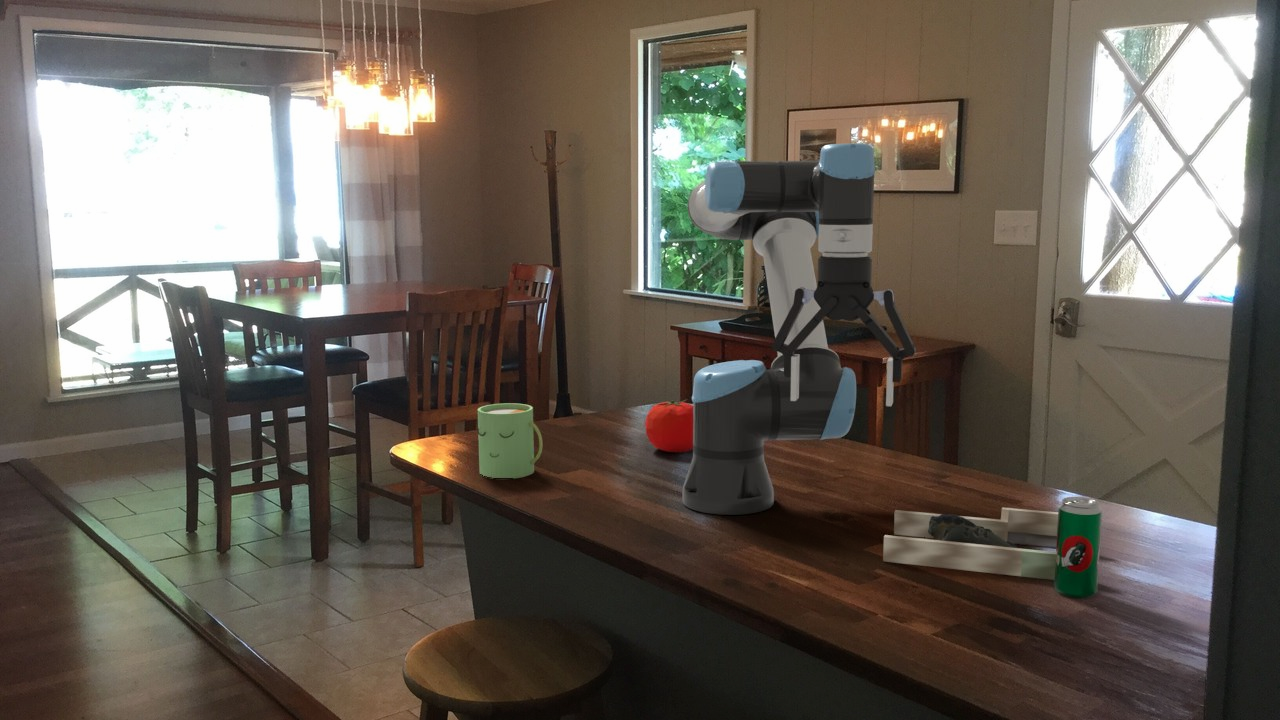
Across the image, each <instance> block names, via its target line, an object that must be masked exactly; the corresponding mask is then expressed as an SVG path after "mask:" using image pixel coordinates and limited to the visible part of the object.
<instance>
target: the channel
mask: <svg viewBox="0 0 1280 720" xmlns="http://www.w3.org/2000/svg"><path fill="white" fill-rule="evenodd" d="M942 514H943V513H933V512H922V511H921V512H920V511H910V510H900V509H895V510H894V518H893V519H894V520H893V521H894V522H893V523H894V524H893V535H888V534H885V535H884V536H883V548H882V549H883V550H882V551H883V556H882V561H883V562H885V563H886V562H887V563H896V564H903V565H914V566H921V567H930V568H931V567H933V568H940V569H951V570H959V571H970V572H979V573H988V574H995V575H996V574H997V575H1007V576H1013V577H1014V576H1016V577H1025V578H1033V579H1041V580H1042V579H1043V580H1051V581H1054V579H1055V561H1056V551H1051V550H1040V549H1039V550H1038V549H1028V548H1020V547H1019V548H1018V547H1017V548H1010V547H1000V546H990V545H980V544H970V543H960V542H950V541H940V540H936V538H935V539H934V537H933V536H931V535H930V533H928V529H929V521H930V518H931V517H932V516H934V517H938V516H940V515H942ZM1000 514H1001V515H1000V519H997V518H987V517H978V516H977V517H974V516H964V515H959V516H960V517H964V518H965V519H967V520H969V521H971V522H972V523H974V524H975V525H977V526H981V527H984V528H985V529H990V530H991V531H992V532H993V533H994V534H995V535H996V536H998V537H1000V538H1001V539H1003V540H1005V541H1009V542H1011V543H1013V544H1014V545H1018V544H1019V545H1021V546H1027V547H1029V546H1031V547H1037V548H1048V549H1056V542H1057V524H1058V511H1056V512H1055V511H1045V510H1035V509H1024V508H1013V507H1001V513H1000ZM924 537H925V538H924Z"/></svg>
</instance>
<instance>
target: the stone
mask: <svg viewBox="0 0 1280 720" xmlns="http://www.w3.org/2000/svg"><path fill="white" fill-rule="evenodd" d="M941 514H942V515H940V516H938V517H934V516H932V517H931V518H930V521H929V529H928V533H930V535H931V536H933V537H934V538H936V539H935V540H940V541H950V542H960V543H970V544H980V545H990V546H1000V547H1010V548H1018V546H1017V545H1016V544H1013V543H1011V542H1009V541H1005V540H1003V539H1001V538H1000V537H998V536H996V535H995V534H994V533H993V532H992V531H991V530H990V529H985V528H984V527H981V526H977V525H975V524H974V523H972V522H971V521H969V520H967V519H965V518H964V517H960V516H961V515H957V514H951V513H941ZM934 538H933V539H934Z"/></svg>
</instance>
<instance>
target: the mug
mask: <svg viewBox="0 0 1280 720" xmlns="http://www.w3.org/2000/svg"><path fill="white" fill-rule="evenodd" d="M477 426H478V427H477V434H478V436H477V437H478V464H479V465H478V467H479V475H480V474H482V475H483V476H482V475H481V476H482V477H484V476H487V477H492V478H491V479H493V478H513V479H520V478H524V477H529V476H530V475H532V474H534V473H535V463H536V462H537V461H538V459H540V456H541V454H542V451H543V444H544V443H543V442H544V441H543V437H542V434H541V433H542V432H541V431H540V429H539V427H538V426H537V425H536V423H535V422H534V407H533V406H532V405H529V404H525V403H524V404H523V403H513V402H512V403H511V402H509V403H507V402H506V403H493V404H486V405H483V406H480V407H478V408H477ZM534 431H535V432H536V435H537V437H538V452H537V454H536V456H535V448H534V446H535V445H534V444H535V443H534ZM487 477H486V478H487Z"/></svg>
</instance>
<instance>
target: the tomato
mask: <svg viewBox="0 0 1280 720" xmlns="http://www.w3.org/2000/svg"><path fill="white" fill-rule="evenodd" d="M687 400H688V398H687V399H685V400H684V399H683V400H681V401H676V402H675V400H670V401H662V402H659V403H658V404H656V405H655V404H654V405H653V406H652V407H651V409H650V411H648V413H647V415H646V419H645V422H644V426H645V435H646V436H647V439H648V441H649V442H650V444H651V445H652V446H653V447H655V448H656V449H658V450H661V451H664V452H667V453H685V452H688V451H691V450H693V404H690V403H687V402H685V401H687Z"/></svg>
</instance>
